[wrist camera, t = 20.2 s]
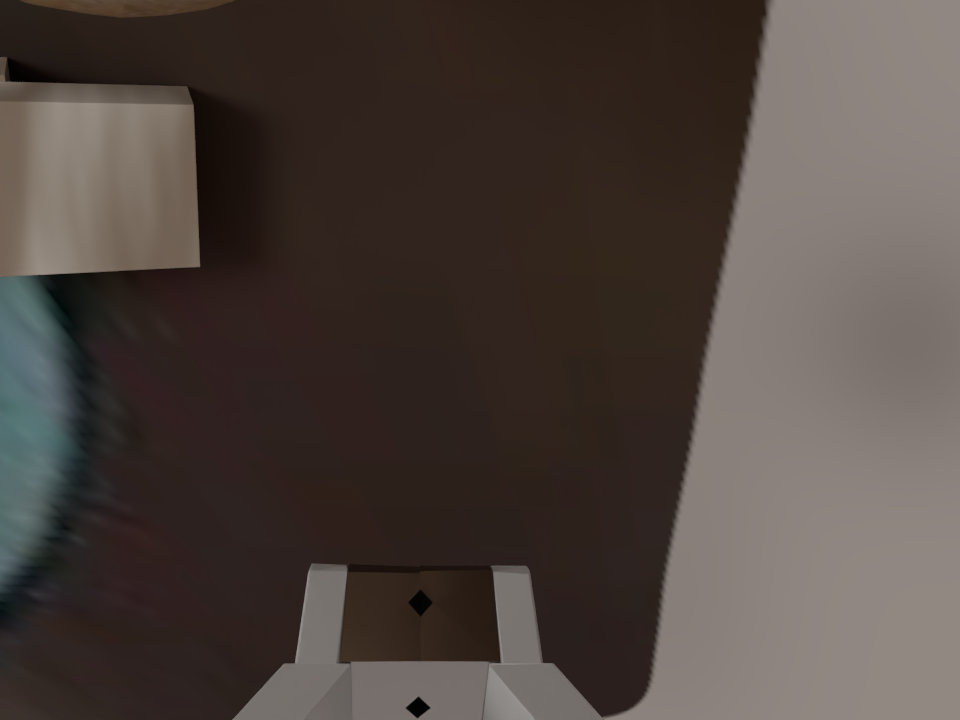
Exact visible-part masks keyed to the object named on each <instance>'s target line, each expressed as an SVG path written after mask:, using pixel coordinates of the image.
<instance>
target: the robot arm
mask: <svg viewBox="0 0 960 720" xmlns="http://www.w3.org/2000/svg"><path fill="white" fill-rule="evenodd" d="M233 720H604V719H603V718H602V717H601V716H600V715H599V714H598V713H597V712H596V711H595V709H594V708H593V707H592V706H591V705H590V704H589V703H588V702H587V700H586V699H585V698H584V697H583V696H582V695H581V694H580V693H579V692H578V690H577V689H576V688H575V687H574V686H573V685H572V684H571V683H570V681H569V680H568V679H567V678H566V677H565V676H564V675H563V674H562V673H561V671H560V670H559V669H558V668H557V667H556V666H555V665H554V664H552V663H543V661H542V654H541V647H540V640H539V633H538V626H537V619H536V612H535V605H534V598H533V591H532V584H531V577H530V571H529V569H528V568H527V566H491V567H490V566H420V567H416V566H386V565H356V564H349V565H338V564H312V565H311V567H310V570H309V573H308V578H307V585H306V592H305V599H304V606H303V613H302V619H301V626H300V633H299V640H298V647H297V654H296V660H295V663H293V664H283V665H282V666H281V668H280V669H279V670H278V671H277V672H276V673H275V674H274V675H273V676H272V677H271V678H270V680H269V681H268V682H267V683H266V684H265V685H264V686H263V687H262V688H261V689H260V690H259V692H258V693H257V694H256V695H255V696H254V697H253V698H252V699H251V700H250V701H249V702H248V704H247V705H246V706H245V707H244V708H243V709H242V710H241V711H240V712H239V713H238V714H237V715H236V717H235V718H234V719H233Z"/></svg>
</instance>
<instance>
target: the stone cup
mask: <svg viewBox="0 0 960 720" xmlns="http://www.w3.org/2000/svg"><path fill="white" fill-rule="evenodd" d="M21 1H23V2H26V3H29V4H33V5H39V6H45V7H51V8H56V9H62V10H68V11H73V12H79V13H85V14H94V15H103V16H112V17H121V18H125V17H144V16H164V15H171V14H178V13H185V12H192V11H199V10H206V9H209V8H212V7H216V6H219V5H222V4H226V3H229V2H232V1H235V0H21Z"/></svg>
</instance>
